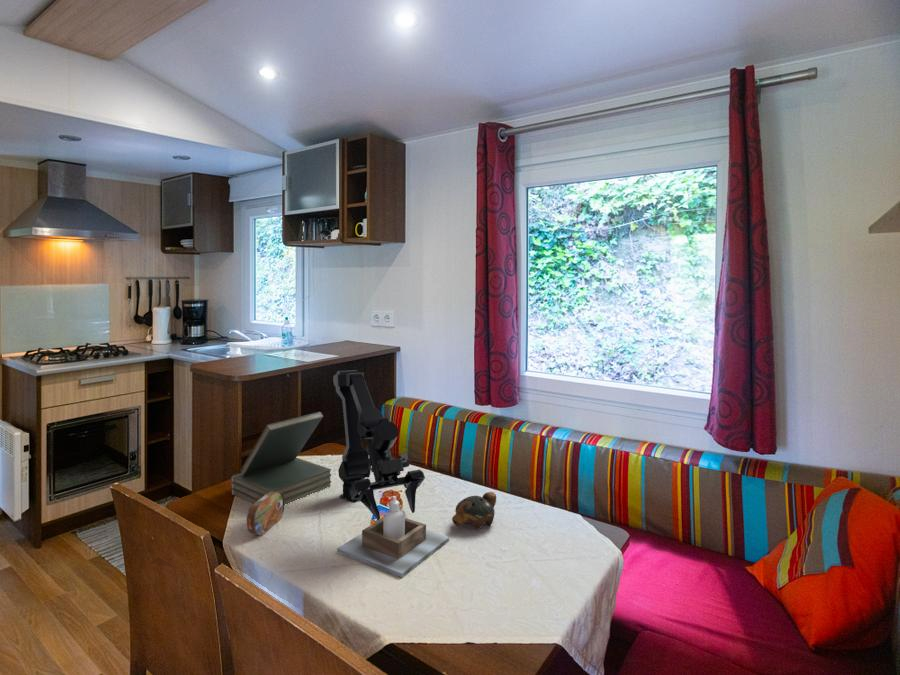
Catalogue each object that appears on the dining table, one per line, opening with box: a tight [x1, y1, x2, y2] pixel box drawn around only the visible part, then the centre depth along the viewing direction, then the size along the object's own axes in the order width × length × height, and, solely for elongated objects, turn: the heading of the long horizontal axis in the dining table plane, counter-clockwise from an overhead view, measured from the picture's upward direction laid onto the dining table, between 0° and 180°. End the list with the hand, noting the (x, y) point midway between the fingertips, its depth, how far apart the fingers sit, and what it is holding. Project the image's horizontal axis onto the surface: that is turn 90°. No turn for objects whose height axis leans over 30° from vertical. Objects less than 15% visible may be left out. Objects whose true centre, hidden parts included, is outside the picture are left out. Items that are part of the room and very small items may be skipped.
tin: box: [246, 491, 285, 536], centre depth 139 cm, size 15×3×8 cm, turn 168°
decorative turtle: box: [451, 491, 497, 530], centre depth 143 cm, size 10×15×8 cm, turn 135°
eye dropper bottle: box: [383, 495, 406, 540], centre depth 130 cm, size 4×6×12 cm
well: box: [336, 517, 450, 578], centre depth 130 cm, size 20×20×5 cm
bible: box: [230, 411, 332, 506], centre depth 162 cm, size 23×20×25 cm
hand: (396, 516), depth 128 cm, fingers open, 9 cm apart
